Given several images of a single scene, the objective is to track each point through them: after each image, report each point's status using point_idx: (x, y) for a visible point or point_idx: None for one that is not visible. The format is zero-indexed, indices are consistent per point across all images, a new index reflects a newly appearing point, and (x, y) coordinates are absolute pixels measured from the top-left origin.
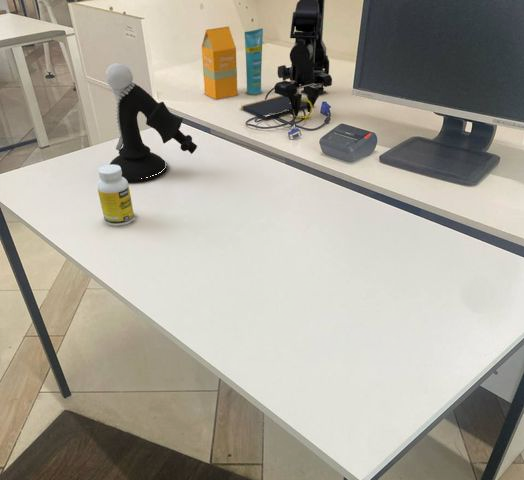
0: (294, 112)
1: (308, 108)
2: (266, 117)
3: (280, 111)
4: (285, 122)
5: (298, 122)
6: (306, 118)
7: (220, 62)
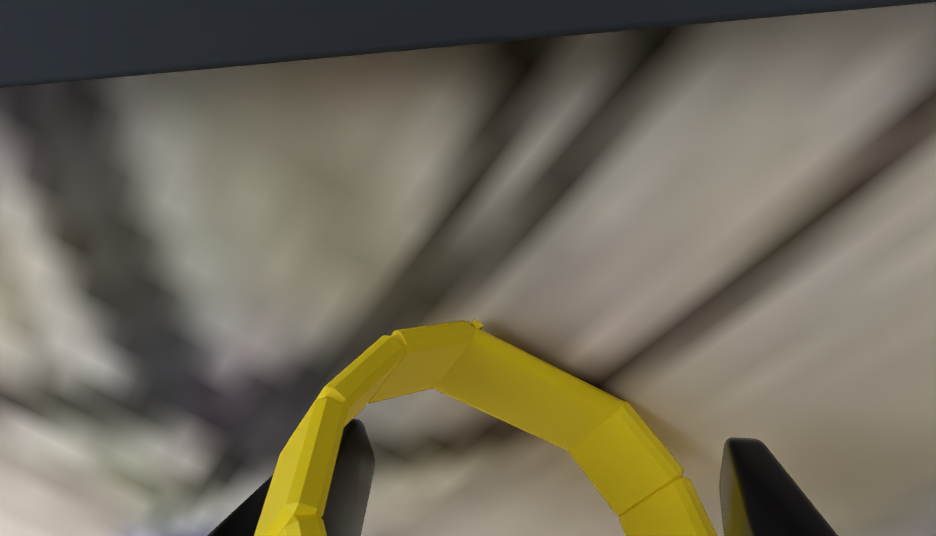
0: None
1: (738, 533)
2: None
3: (106, 19)
4: (167, 357)
5: None
6: (583, 444)
7: None
